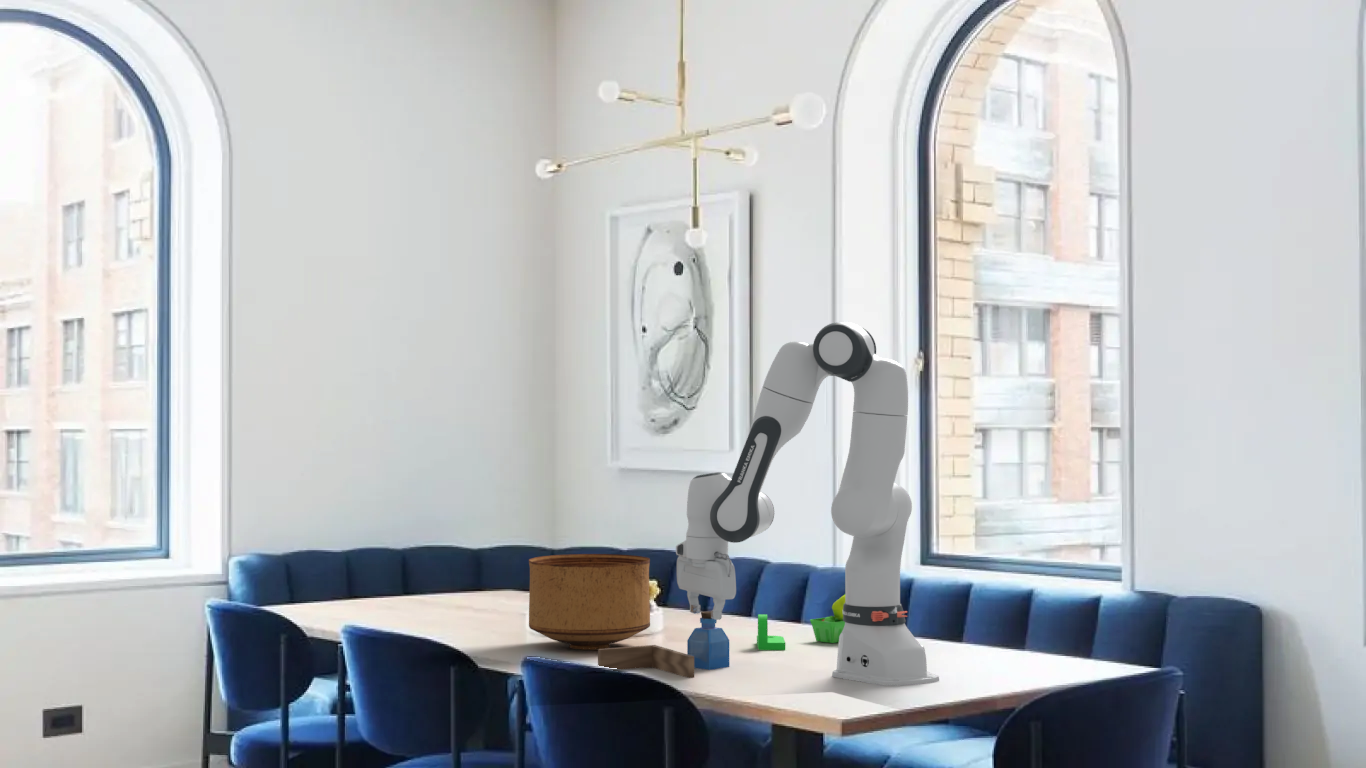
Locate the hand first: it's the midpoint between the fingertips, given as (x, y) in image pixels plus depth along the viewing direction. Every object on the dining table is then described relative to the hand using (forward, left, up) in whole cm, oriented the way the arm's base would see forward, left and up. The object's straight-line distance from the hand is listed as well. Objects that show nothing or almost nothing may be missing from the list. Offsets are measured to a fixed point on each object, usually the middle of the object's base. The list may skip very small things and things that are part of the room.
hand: (705, 616), depth 349 cm
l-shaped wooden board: (-3, +16, -11) cm, 19 cm away
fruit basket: (+24, -47, -11) cm, 54 cm away
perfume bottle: (0, 0, -11) cm, 11 cm away
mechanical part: (+22, -28, -12) cm, 38 cm away
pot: (+41, +9, -11) cm, 43 cm away
